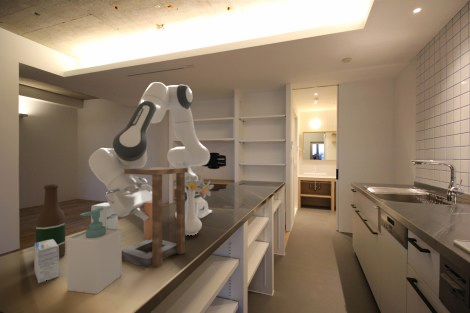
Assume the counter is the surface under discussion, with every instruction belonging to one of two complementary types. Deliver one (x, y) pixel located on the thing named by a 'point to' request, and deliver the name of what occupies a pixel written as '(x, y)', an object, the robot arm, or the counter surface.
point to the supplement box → (106, 215)
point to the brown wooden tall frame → (159, 221)
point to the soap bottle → (94, 257)
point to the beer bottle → (51, 220)
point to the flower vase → (191, 219)
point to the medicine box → (46, 260)
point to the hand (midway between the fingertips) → (151, 217)
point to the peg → (148, 221)
